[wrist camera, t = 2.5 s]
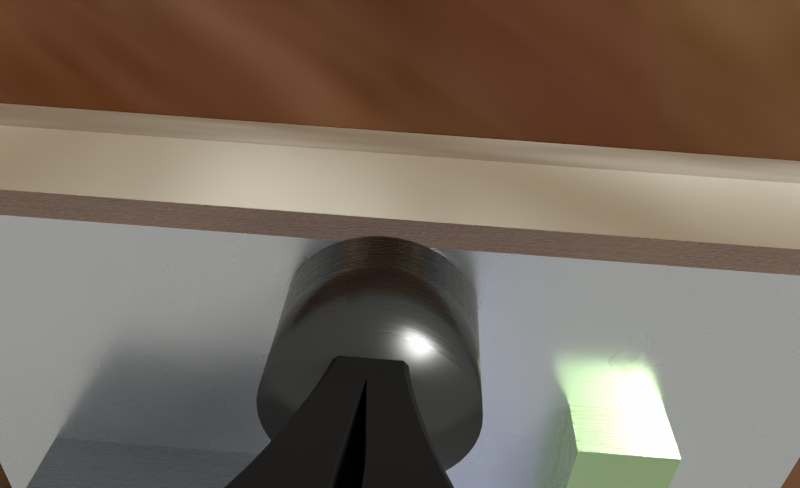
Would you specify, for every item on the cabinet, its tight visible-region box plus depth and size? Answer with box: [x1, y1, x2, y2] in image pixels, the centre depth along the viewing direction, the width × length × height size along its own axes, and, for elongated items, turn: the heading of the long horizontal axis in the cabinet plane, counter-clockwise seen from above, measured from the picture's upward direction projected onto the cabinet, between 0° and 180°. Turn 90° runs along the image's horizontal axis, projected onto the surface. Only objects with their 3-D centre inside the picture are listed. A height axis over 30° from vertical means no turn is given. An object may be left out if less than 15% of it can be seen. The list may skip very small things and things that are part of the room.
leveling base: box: [0, 103, 800, 249], centre depth 21 cm, size 15×24×2 cm, turn 87°
